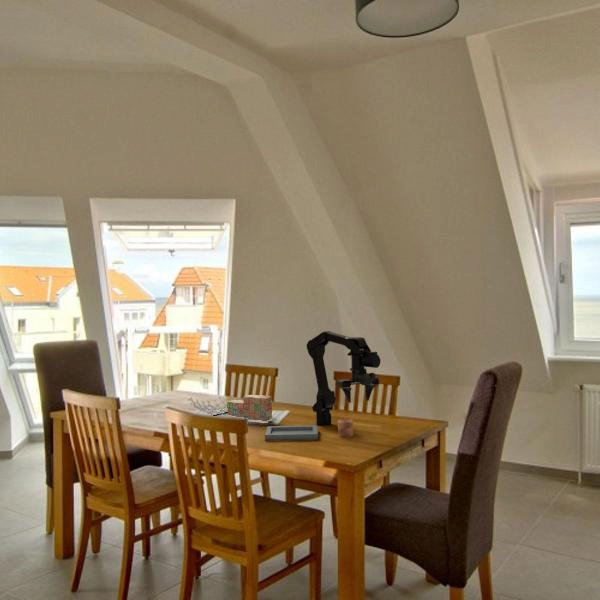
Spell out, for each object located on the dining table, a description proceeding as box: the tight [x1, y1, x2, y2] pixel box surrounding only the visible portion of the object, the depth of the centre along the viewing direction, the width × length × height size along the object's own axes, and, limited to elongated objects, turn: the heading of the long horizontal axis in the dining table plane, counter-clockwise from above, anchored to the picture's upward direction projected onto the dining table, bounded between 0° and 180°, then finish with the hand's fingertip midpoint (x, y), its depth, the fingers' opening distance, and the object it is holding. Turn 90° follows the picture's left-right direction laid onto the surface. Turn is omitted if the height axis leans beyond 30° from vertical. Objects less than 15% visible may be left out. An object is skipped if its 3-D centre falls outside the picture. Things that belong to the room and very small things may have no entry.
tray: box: [264, 424, 319, 441], centre depth 255 cm, size 22×16×2 cm
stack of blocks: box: [226, 394, 273, 421], centre depth 287 cm, size 21×6×12 cm, turn 65°
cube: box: [337, 419, 354, 438], centre depth 254 cm, size 6×6×6 cm
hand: (358, 401), depth 261 cm, fingers open, 9 cm apart
